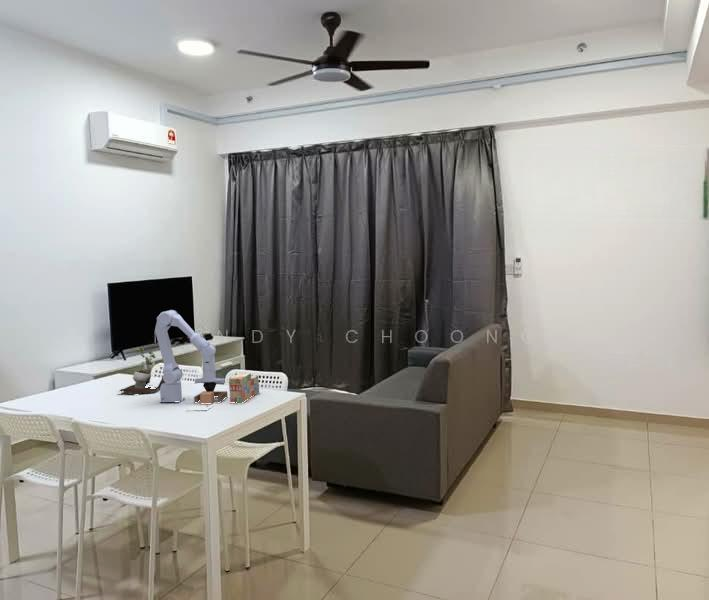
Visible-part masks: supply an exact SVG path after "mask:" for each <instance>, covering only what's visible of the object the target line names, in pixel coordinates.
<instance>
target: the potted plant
mask: <svg viewBox="0 0 709 600" xmlns="http://www.w3.org/2000/svg"><path fill="white" fill-rule="evenodd" d="M135 351H136V353H138V352H139V353H140V356H142V358H145V361H142V362H141V363H140V367H139V370H135V371H134V373H133V376H132V379H133V381H134V382H135V383H134V384H131V385H129V386H126V387H124V388H121V389H120V390H119V392H124V393H126V394H128V395H132V394H139V395H143V394H152V393H154V392H156V390H157V389H160V387H161V385H162V384H163V383H165V382H164V380H163V376H162V377H161V379H160V382H159V383H158V385H157V386H156V387H157V389H150V388H151V387H148V388H145V386H146V385H149V383H151V379H152V374H151V370H152V368H151V365H153V363H152V360H153V359H155V358H156V355H155V354H154V352H152V351H149V352H148V356H146V355H145V354H144V352H145V350H144V348H140V347H137V348H136V349H135ZM142 393H143V394H142Z"/></svg>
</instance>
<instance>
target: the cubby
mask: <svg viewBox="0 0 709 600" xmlns="http://www.w3.org/2000/svg"><path fill="white" fill-rule="evenodd" d="M202 392H204V391H201V392H200V393H198V394H197V395H195V396H194V397H193V398H194V403H195V402H198V401H199V400H200V394H201V393H202ZM214 396H218V397H217V398H216V400H217V401H216V402H220V401H222V400H223V399H224V398H225V397H227V398H228V390H226V391H225V390H219V391H217V390H216V391H215V390H214ZM223 401H224V400H223ZM223 401H222V402H223ZM198 403H199V402H198Z"/></svg>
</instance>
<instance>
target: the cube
mask: <svg viewBox="0 0 709 600" xmlns="http://www.w3.org/2000/svg"><path fill="white" fill-rule="evenodd" d="M214 391H215V390H214ZM214 391H206V390H205V391H204V392H203V391H201V392H202V393H201V392H200V393H201V394H200V393H199V394H200V402H199V403H200V404H201V403H212V402H213V401H215V398H214ZM213 403H214V402H213ZM213 403H212V404H213Z"/></svg>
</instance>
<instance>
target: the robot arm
mask: <svg viewBox="0 0 709 600" xmlns="http://www.w3.org/2000/svg"><path fill="white" fill-rule="evenodd" d="M171 326H172V327H177V328H178V329H180V330H181V331H182V332H183V333H184V334H185V335H186V336H188V337H189V342H190V343H191V344H192V345H193V346H194V347H195V348H196V349H197V350H198V351H199V352H200V354H199V355H200V356H201V357H202V372H203V373H202V375H203V378H195V379H194V384H203V385H202V387H203V388H204V389H205V391H215V388H216V386H217V384H224V383H226V378H224V377H223V378H220V377H216V375H217V373H216V359H215V357H216V356H215V354H216V353H217V349H216V347H215V345H213V344H211V343H210V342H209V341H207V340H206V338H205V337H204V334H201V333H199V332H198V333H196V332H195V331H194V330H193V328H191V326H190V325H189V324H188V323H187V322H186V321H185V320H184V319H183V317H182V316H181V315H180V314H179V313H178V311H176V310H174V309H169V310H166V311H162V312H160V314H159V315H158V316H157V317H156V323H155V329H154V331H155V335H156V339H157V343H158V347H159V350H160V355H161V358H162V363H163V368H162V369H163V370H162V371H163V372H162V373H163V376H162V377H163V380H164V382H165V383H163V384H162V385H161V387H160V388H159V392H160V393H159V396H160V402H175V401H180V400H182V398H183V393H182V391H183V390H182V381H181V379H182V377H183V371H182V369H181V368H180V366H179V363H177V362H176V360H175V355H174V352H173V351H174V350H173V348H172V347H173V346H172V343H171V340H170V337H169V333H168V330H169V329H170V328H171Z"/></svg>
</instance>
